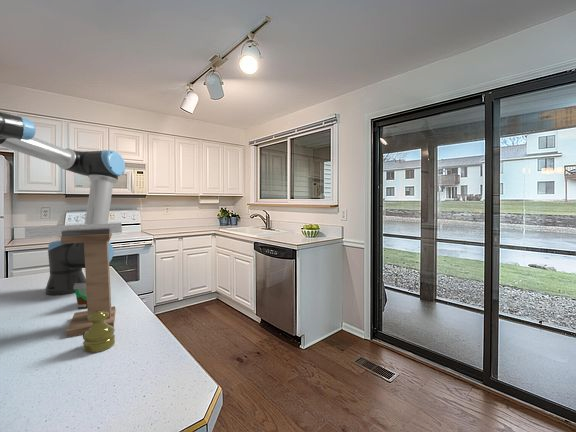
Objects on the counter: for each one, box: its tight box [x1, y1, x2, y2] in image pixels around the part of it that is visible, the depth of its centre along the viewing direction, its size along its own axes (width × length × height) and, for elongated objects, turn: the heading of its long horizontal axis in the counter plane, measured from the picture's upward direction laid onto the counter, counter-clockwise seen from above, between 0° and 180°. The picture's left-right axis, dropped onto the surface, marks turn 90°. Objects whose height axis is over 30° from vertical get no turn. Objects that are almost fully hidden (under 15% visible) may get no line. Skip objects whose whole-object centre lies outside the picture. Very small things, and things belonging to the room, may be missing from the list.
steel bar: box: [24, 222, 123, 239], centre depth 90 cm, size 3×24×3 cm, turn 119°
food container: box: [73, 282, 87, 310], centre depth 113 cm, size 12×6×10 cm, turn 168°
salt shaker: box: [82, 310, 116, 354], centre depth 81 cm, size 7×7×10 cm
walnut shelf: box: [60, 229, 116, 339], centre depth 95 cm, size 16×12×32 cm
